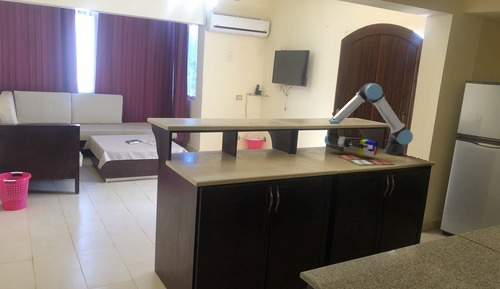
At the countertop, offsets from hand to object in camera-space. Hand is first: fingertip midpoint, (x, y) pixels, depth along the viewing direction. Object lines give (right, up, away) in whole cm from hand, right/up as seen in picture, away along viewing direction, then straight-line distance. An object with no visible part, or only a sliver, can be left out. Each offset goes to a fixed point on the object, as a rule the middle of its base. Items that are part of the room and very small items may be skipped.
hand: (374, 146), depth 287 cm
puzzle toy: (-4, -6, +3) cm, 8 cm away
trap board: (-9, -10, -6) cm, 14 cm away
